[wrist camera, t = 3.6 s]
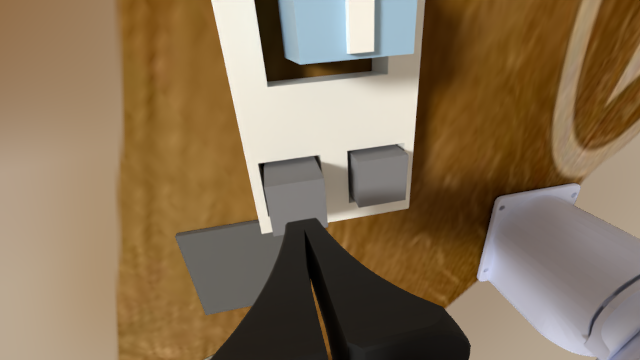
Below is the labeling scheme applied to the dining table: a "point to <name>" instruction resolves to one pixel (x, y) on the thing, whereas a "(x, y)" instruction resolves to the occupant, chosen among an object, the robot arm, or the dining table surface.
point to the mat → (229, 263)
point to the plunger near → (294, 192)
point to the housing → (317, 111)
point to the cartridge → (346, 29)
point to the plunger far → (377, 175)
